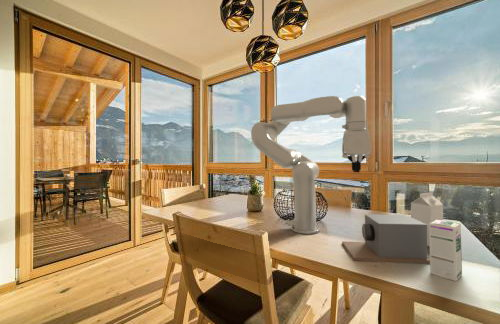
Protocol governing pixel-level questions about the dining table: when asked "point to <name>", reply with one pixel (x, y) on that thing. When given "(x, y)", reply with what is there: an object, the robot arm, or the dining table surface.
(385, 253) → the block
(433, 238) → the syrup box
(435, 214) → the milk carton
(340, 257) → the dining table surface
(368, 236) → the shaft
